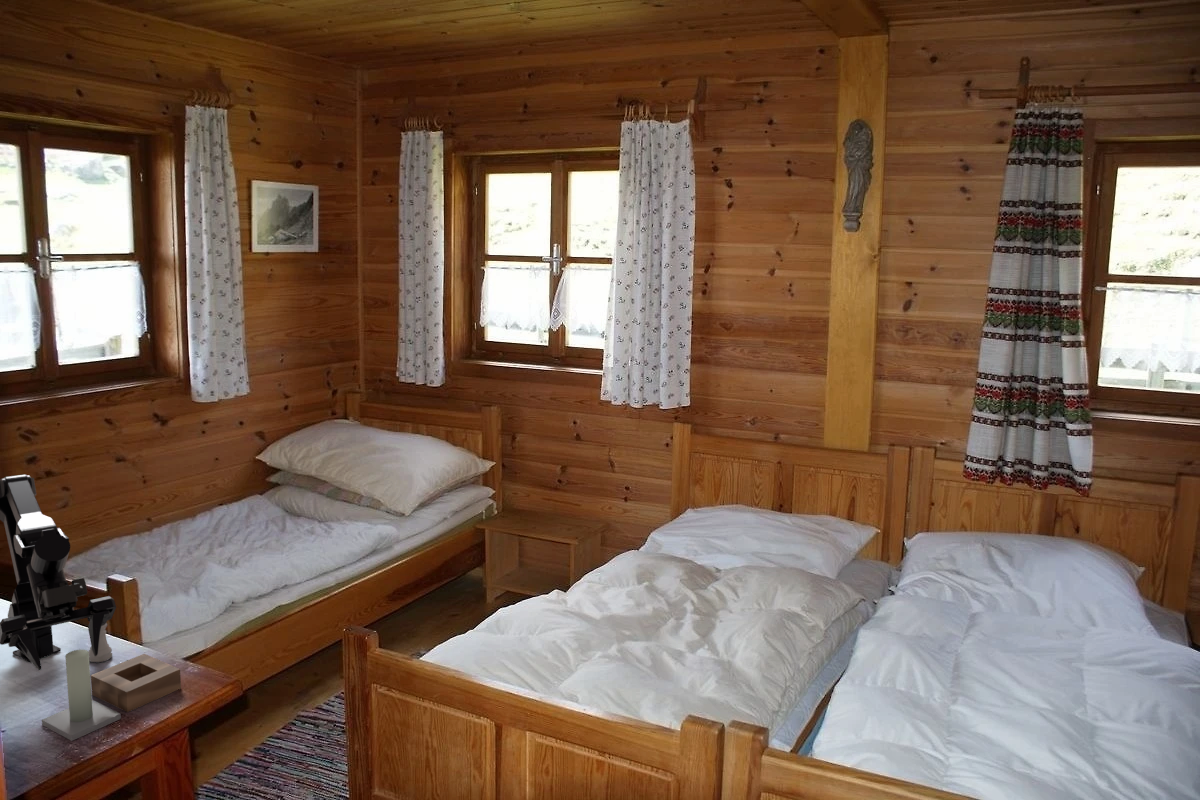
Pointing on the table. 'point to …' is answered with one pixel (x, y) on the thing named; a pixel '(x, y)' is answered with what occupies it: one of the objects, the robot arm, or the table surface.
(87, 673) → the sage peg
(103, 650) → the rook chess piece
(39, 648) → the robot arm
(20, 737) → the table surface
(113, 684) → the walnut pocket block
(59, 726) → the slate tile
